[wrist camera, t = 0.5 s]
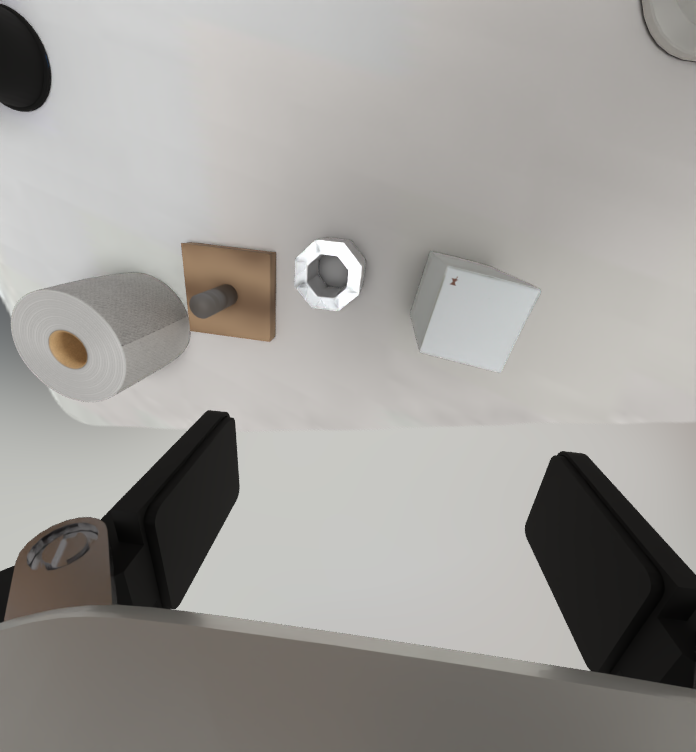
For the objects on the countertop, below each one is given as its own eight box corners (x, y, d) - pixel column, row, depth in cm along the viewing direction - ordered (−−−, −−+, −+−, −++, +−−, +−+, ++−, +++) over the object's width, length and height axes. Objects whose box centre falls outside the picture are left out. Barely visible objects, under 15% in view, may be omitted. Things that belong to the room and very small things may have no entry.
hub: (309, 235, 37) (295, 237, 31) (368, 241, 36) (364, 245, 31) (307, 294, 40) (293, 305, 34) (361, 301, 39) (356, 313, 34)
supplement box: (408, 314, 39) (414, 353, 28) (429, 249, 36) (447, 261, 25) (469, 331, 39) (501, 376, 28) (496, 267, 36) (545, 288, 25)
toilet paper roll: (202, 360, 45) (145, 401, 34) (122, 364, 47) (44, 405, 36) (174, 266, 40) (98, 281, 30) (86, 275, 42) (-16, 293, 31)
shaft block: (190, 242, 39) (144, 247, 31) (275, 252, 38) (248, 259, 31) (198, 326, 43) (159, 347, 36) (275, 336, 42) (251, 360, 35)
